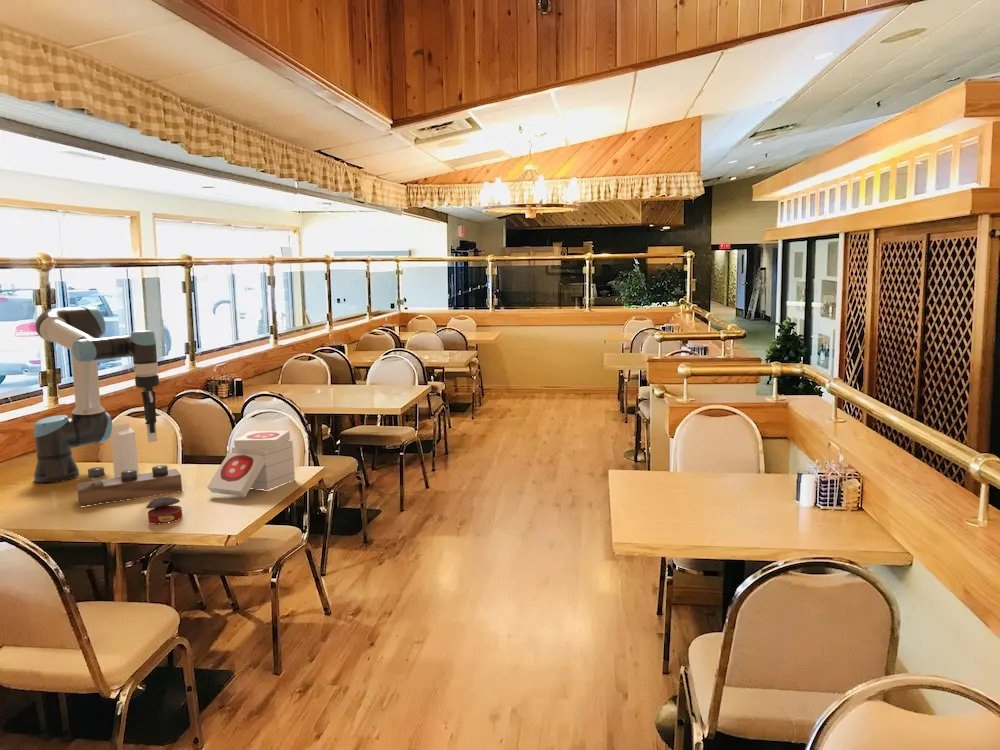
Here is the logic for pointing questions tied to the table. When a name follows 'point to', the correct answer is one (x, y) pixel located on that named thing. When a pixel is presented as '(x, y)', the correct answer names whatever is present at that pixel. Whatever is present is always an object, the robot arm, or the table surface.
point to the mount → (128, 488)
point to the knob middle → (129, 475)
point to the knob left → (96, 474)
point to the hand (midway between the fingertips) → (152, 441)
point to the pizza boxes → (255, 463)
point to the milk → (124, 449)
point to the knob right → (159, 470)
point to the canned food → (164, 510)
